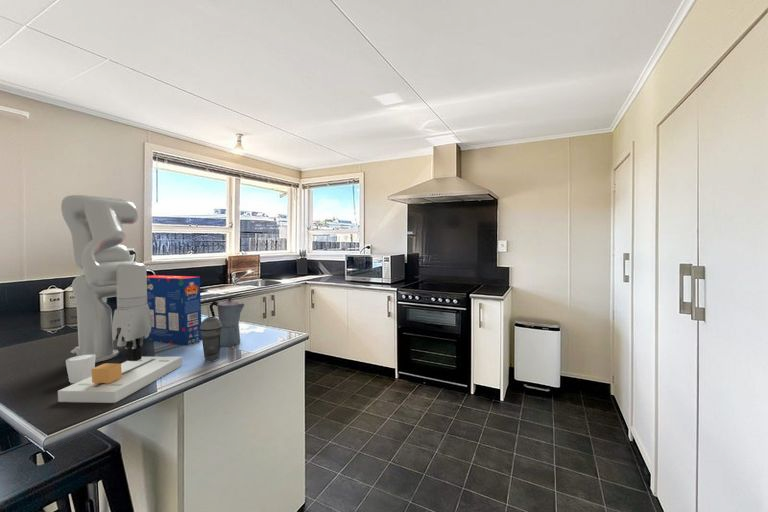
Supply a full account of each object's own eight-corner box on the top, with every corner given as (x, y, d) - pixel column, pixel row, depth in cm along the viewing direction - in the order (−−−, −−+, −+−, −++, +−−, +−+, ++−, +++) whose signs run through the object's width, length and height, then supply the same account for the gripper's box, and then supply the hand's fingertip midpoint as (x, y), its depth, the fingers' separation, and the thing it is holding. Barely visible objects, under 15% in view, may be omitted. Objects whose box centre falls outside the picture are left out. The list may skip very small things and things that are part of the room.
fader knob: (92, 382, 89) (91, 368, 89) (105, 376, 93) (104, 363, 93) (109, 383, 89) (108, 369, 89) (121, 377, 93) (121, 363, 93)
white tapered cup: (79, 375, 103) (78, 354, 103) (102, 374, 103) (101, 353, 103) (59, 384, 96) (58, 361, 96) (84, 383, 97) (83, 360, 96)
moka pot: (240, 347, 129) (239, 298, 129) (203, 347, 130) (201, 298, 129) (250, 340, 139) (249, 294, 138) (215, 340, 139) (214, 294, 138)
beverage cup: (213, 363, 112) (211, 307, 111) (195, 362, 113) (193, 306, 113) (227, 356, 119) (226, 303, 118) (210, 355, 120) (208, 302, 120)
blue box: (201, 340, 140) (199, 276, 139) (185, 345, 132) (182, 278, 131) (156, 334, 149) (154, 275, 148) (138, 339, 142) (136, 277, 141)
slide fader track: (58, 401, 85) (57, 390, 85) (137, 364, 111) (137, 356, 111) (115, 402, 85) (114, 391, 84) (182, 365, 111) (181, 356, 110)
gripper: (140, 298, 108) (142, 351, 108) (98, 307, 93) (101, 369, 93) (161, 298, 107) (163, 352, 108) (123, 307, 92) (125, 369, 93)
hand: (134, 360), depth 101 cm, fingers closed
